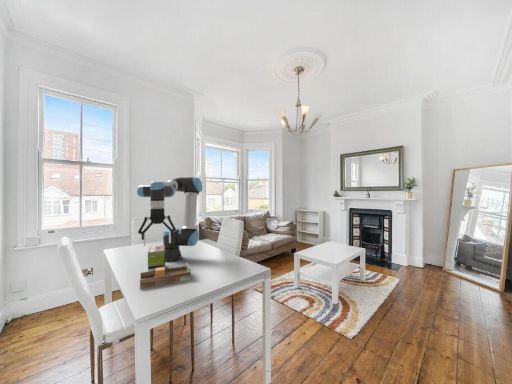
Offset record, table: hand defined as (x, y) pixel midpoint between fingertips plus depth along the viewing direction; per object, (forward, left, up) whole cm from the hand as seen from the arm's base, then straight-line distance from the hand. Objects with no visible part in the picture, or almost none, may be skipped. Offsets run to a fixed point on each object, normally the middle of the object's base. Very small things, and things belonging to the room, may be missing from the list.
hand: (157, 244), depth 128 cm
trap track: (-1, +4, -22) cm, 23 cm away
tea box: (-21, 0, -22) cm, 30 cm away
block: (-3, +1, -20) cm, 20 cm away
